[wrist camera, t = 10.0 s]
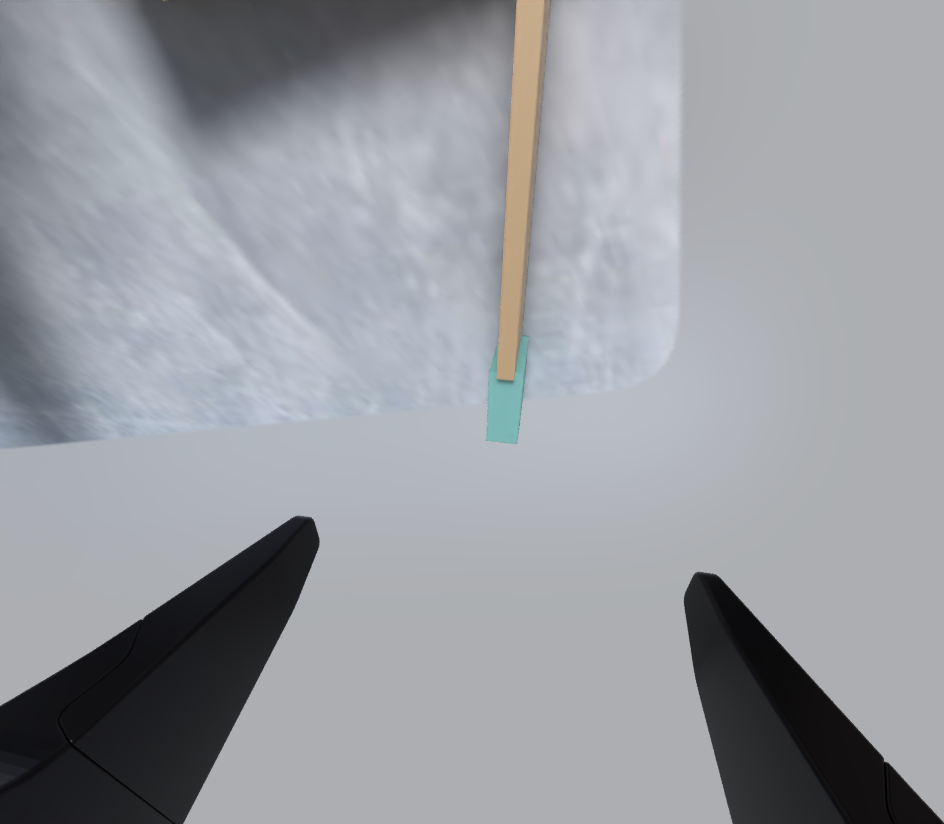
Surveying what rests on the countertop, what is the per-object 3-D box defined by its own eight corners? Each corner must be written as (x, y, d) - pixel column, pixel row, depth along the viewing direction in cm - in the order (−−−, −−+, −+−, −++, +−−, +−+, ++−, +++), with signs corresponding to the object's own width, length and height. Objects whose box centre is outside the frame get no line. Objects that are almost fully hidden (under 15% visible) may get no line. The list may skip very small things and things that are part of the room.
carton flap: (523, 393, 19) (516, 450, 15) (497, 391, 19) (485, 446, 15) (578, -178, 10) (593, -371, 6) (529, -173, 10) (517, -360, 7)
